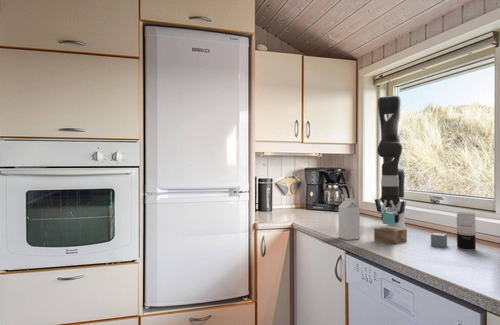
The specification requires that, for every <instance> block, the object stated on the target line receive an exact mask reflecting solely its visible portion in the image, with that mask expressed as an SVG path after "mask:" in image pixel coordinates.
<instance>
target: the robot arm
mask: <svg viewBox="0 0 500 325" xmlns="http://www.w3.org/2000/svg"><path fill="white" fill-rule="evenodd" d="M377 109H378V115H379V123H380V136H381V139H380V141H379V143H378V144H377V145H378V146H377V150H376V151H377V154H378V156H380V157H381V158H382V160H383V163H382V165H381V179H380V180H381V181H380V186H381V189H380V190H381V192H380V193H381V197H380V198H376V199H375V200H374V204H375V207H376V211H377V213H380V215H381V221H383V213H384V212H395V223H398V224H395V225H390V224H386V226H390V227H396V228H403V229H405V208H406V205H407V200H405V177H406V175H405V170H404V168H401V167H400V168H399V163H400V159H401V156H402V153H403V152H402V151H403V145H402V143H401V142H400V141H401V138H400V134H399V124H400V118H401V113H402V112H401V111H402V99H401V97H400V96H399V95H386V96H381V97H379V98H378V101H377ZM387 115H391V116H390V117H389V118H387ZM381 203H382V206H381Z"/></svg>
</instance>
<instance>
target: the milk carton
mask: <svg viewBox="0 0 500 325" xmlns="http://www.w3.org/2000/svg"><path fill="white" fill-rule="evenodd" d="M360 213H361V212H360V206H358V205H357V203H356V202H355V201H354V199H353V198H347V197H345V198H344V201H342V202H341V204H339V205H338V238H340V239H343V240H345V241H349V240H350V241H351V240H360V239H361V237H360V235H361V232H360V228H361V227H360V218H361V217H360Z"/></svg>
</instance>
